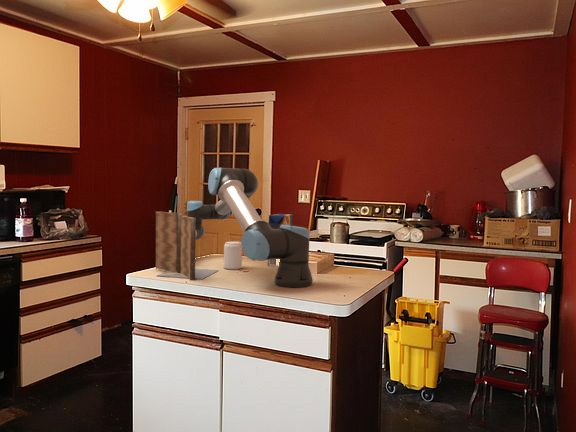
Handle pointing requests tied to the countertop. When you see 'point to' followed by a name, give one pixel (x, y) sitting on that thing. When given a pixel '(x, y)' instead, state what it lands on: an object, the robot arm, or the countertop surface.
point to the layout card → (198, 275)
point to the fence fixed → (186, 246)
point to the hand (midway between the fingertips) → (163, 240)
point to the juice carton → (275, 223)
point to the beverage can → (232, 255)
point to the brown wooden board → (166, 241)
